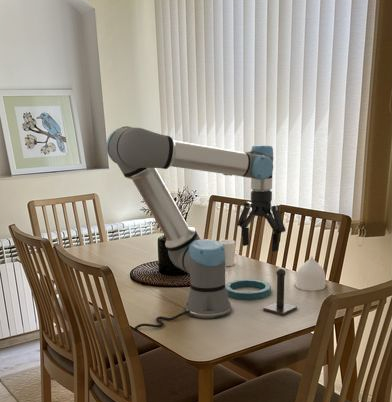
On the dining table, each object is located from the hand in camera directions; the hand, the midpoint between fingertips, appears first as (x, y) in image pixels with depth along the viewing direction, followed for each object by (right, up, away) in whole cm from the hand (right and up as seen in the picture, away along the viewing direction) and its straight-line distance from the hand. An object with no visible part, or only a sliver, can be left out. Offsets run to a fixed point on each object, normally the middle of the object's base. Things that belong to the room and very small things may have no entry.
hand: (260, 248), depth 202 cm
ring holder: (+5, -23, -18) cm, 29 cm away
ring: (-5, -16, 0) cm, 17 cm away
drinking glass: (-10, -4, +35) cm, 37 cm away
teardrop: (+20, -14, +5) cm, 25 cm away
